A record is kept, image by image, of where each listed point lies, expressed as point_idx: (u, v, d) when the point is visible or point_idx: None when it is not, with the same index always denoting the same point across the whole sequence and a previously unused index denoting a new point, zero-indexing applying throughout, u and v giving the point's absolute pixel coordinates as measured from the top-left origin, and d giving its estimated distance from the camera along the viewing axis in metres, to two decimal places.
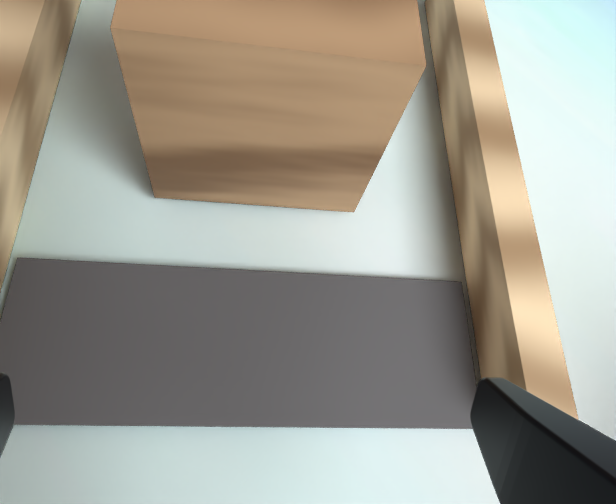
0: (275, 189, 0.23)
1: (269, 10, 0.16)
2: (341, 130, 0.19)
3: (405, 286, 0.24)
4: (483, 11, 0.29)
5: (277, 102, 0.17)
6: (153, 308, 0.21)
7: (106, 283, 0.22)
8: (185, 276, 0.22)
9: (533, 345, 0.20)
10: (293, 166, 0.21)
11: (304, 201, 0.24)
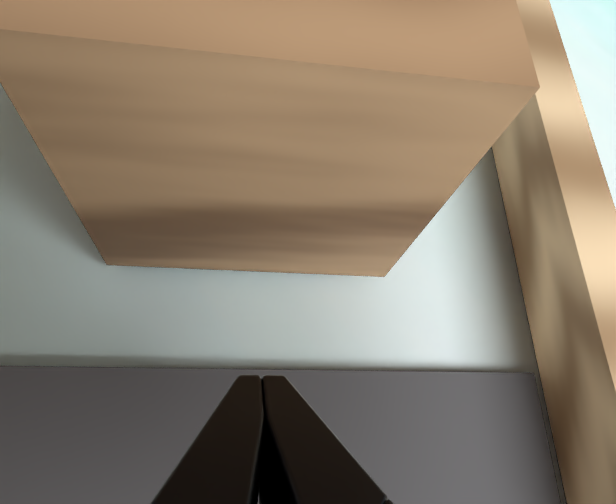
0: (276, 254, 0.16)
1: None
2: (380, 182, 0.12)
3: (458, 383, 0.17)
4: (545, 0, 0.22)
5: (281, 146, 0.11)
6: (101, 436, 0.15)
7: (32, 399, 0.15)
8: (149, 383, 0.16)
9: None
10: (303, 228, 0.14)
11: (317, 266, 0.17)
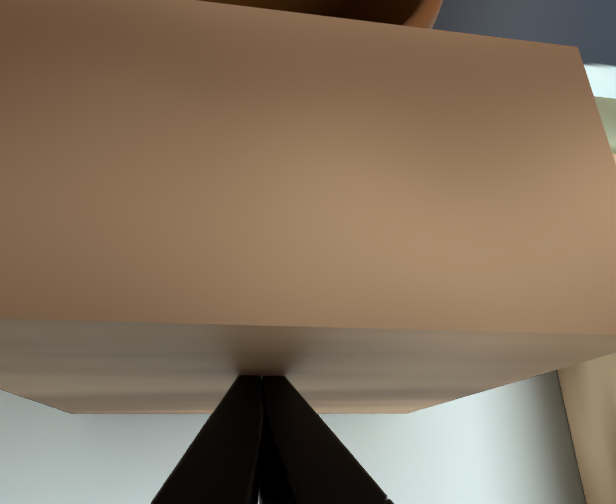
0: None
1: (265, 200, 0.06)
2: (416, 380, 0.09)
3: None
4: None
5: (285, 367, 0.08)
6: None
7: None
8: None
9: None
10: (313, 398, 0.11)
11: (327, 411, 0.14)
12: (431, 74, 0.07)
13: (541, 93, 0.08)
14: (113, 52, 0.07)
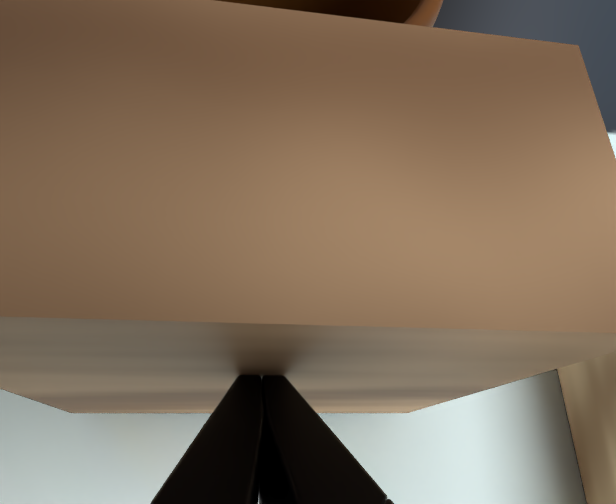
0: None
1: (265, 197, 0.06)
2: (416, 379, 0.09)
3: None
4: None
5: (285, 366, 0.08)
6: None
7: None
8: None
9: None
10: (313, 398, 0.11)
11: (327, 410, 0.14)
12: (432, 72, 0.07)
13: (542, 91, 0.08)
14: (113, 50, 0.07)
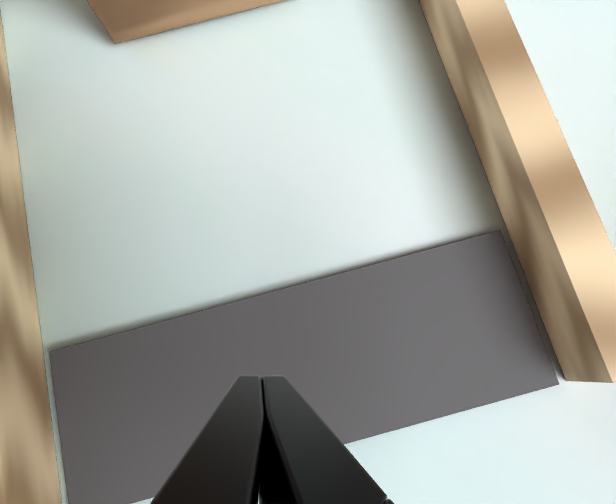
0: None
1: None
2: None
3: (439, 255, 0.22)
4: None
5: None
6: (192, 362, 0.21)
7: (139, 351, 0.21)
8: (211, 319, 0.21)
9: (597, 296, 0.18)
10: None
11: None
12: None
13: None
14: None
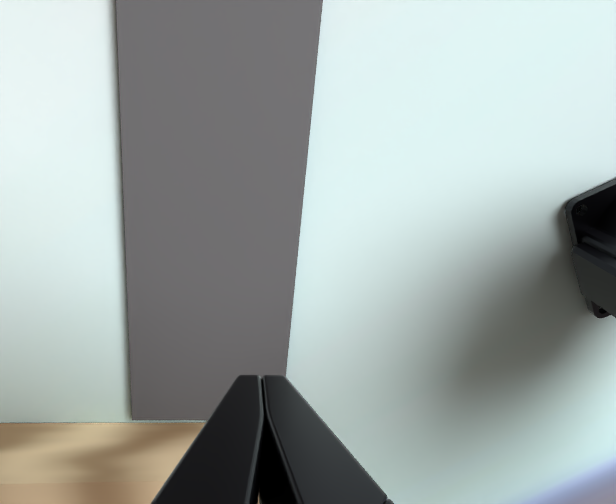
0: None
1: None
2: None
3: None
4: None
5: None
6: (178, 304, 0.21)
7: (153, 347, 0.21)
8: (138, 277, 0.20)
9: None
10: None
11: None
12: None
13: None
14: None
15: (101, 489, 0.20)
